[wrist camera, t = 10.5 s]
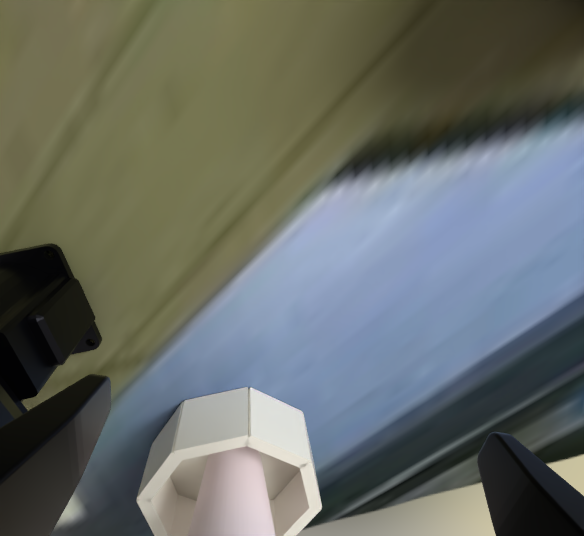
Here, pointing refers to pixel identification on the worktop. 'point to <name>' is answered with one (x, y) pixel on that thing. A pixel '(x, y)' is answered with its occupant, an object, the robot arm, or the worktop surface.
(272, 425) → the bowl
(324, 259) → the worktop surface
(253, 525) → the smoothie
